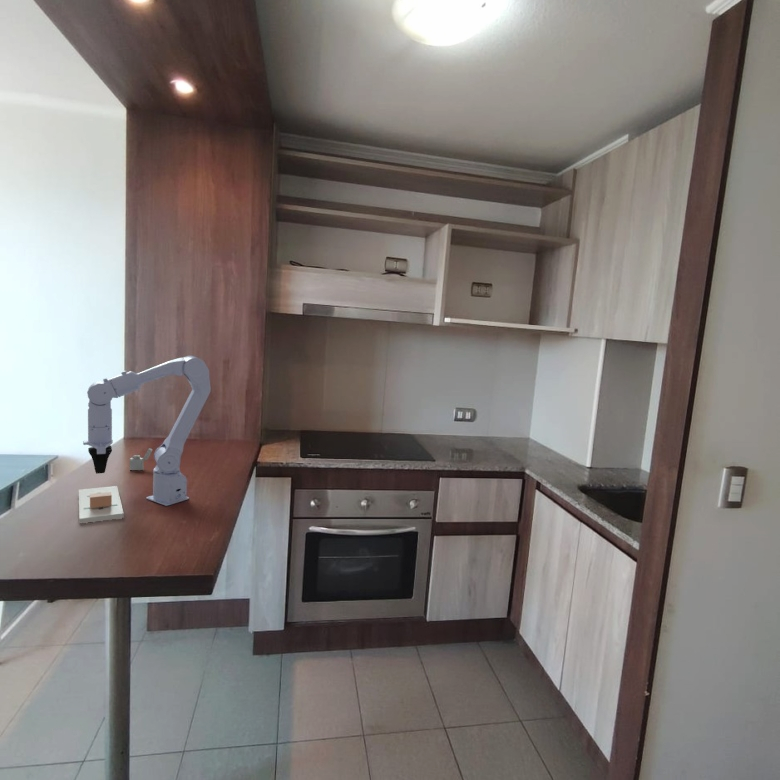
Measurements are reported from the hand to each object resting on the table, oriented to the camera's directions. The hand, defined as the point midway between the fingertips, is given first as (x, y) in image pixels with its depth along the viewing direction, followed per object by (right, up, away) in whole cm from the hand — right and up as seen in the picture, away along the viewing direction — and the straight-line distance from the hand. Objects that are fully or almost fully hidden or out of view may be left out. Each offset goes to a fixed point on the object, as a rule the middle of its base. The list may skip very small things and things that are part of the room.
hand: (100, 472), depth 137 cm
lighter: (-6, -5, +35) cm, 36 cm away
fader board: (-1, -10, +1) cm, 10 cm away
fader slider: (+2, -8, -3) cm, 9 cm away
